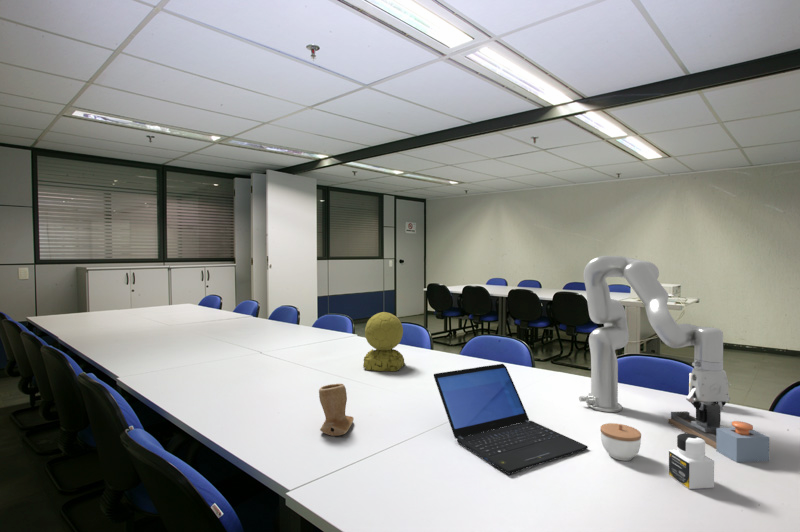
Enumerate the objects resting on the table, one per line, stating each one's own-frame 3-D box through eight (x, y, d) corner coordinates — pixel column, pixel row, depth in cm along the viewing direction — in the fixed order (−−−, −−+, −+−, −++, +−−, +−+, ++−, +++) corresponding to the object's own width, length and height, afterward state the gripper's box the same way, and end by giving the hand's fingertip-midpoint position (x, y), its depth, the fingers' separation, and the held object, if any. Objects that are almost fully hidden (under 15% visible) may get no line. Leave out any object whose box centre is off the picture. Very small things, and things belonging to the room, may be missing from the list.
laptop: (508, 478, 111) (508, 407, 111) (432, 428, 144) (432, 373, 144) (589, 451, 127) (590, 388, 127) (504, 412, 160) (504, 362, 160)
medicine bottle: (668, 475, 112) (668, 431, 112) (692, 473, 112) (693, 430, 112) (688, 489, 105) (688, 442, 105) (714, 488, 105) (715, 441, 105)
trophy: (359, 371, 219) (358, 314, 218) (369, 361, 240) (368, 309, 240) (400, 372, 215) (400, 315, 215) (407, 362, 237) (407, 310, 236)
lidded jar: (592, 451, 126) (592, 421, 126) (617, 445, 130) (617, 415, 130) (623, 467, 116) (623, 434, 116) (649, 460, 120) (649, 428, 120)
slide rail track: (719, 450, 126) (719, 438, 126) (668, 422, 148) (668, 411, 148) (744, 450, 126) (744, 437, 126) (689, 422, 148) (689, 411, 148)
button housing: (736, 462, 119) (736, 438, 119) (716, 451, 126) (716, 428, 126) (769, 461, 119) (769, 437, 119) (747, 450, 126) (747, 427, 126)
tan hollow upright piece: (325, 419, 152) (324, 379, 152) (356, 421, 150) (356, 380, 150) (311, 437, 137) (310, 392, 137) (346, 438, 135) (345, 393, 135)
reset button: (741, 440, 120) (741, 427, 120) (727, 433, 125) (727, 421, 125) (757, 440, 120) (757, 427, 120) (742, 433, 125) (742, 420, 125)
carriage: (705, 436, 132) (705, 406, 132) (690, 429, 138) (690, 400, 138) (725, 436, 132) (726, 406, 132) (710, 428, 138) (710, 399, 138)
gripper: (692, 368, 131) (692, 426, 131) (743, 367, 132) (742, 424, 132) (675, 363, 138) (675, 417, 138) (723, 362, 139) (722, 415, 139)
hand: (708, 420), depth 135 cm, fingers closed on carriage, 4 cm apart
